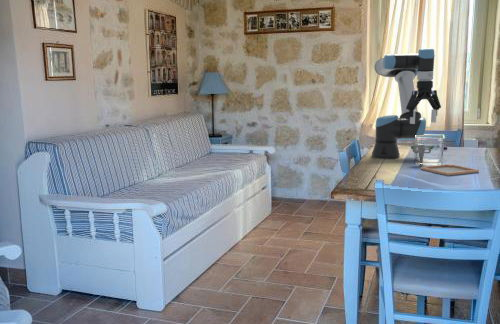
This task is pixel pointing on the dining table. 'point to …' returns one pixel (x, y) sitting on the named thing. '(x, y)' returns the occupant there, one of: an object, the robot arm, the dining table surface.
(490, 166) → the dining table surface
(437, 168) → the wooden square frame
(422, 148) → the mechanical component
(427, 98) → the robot arm
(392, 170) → the dining table surface
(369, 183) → the dining table surface
